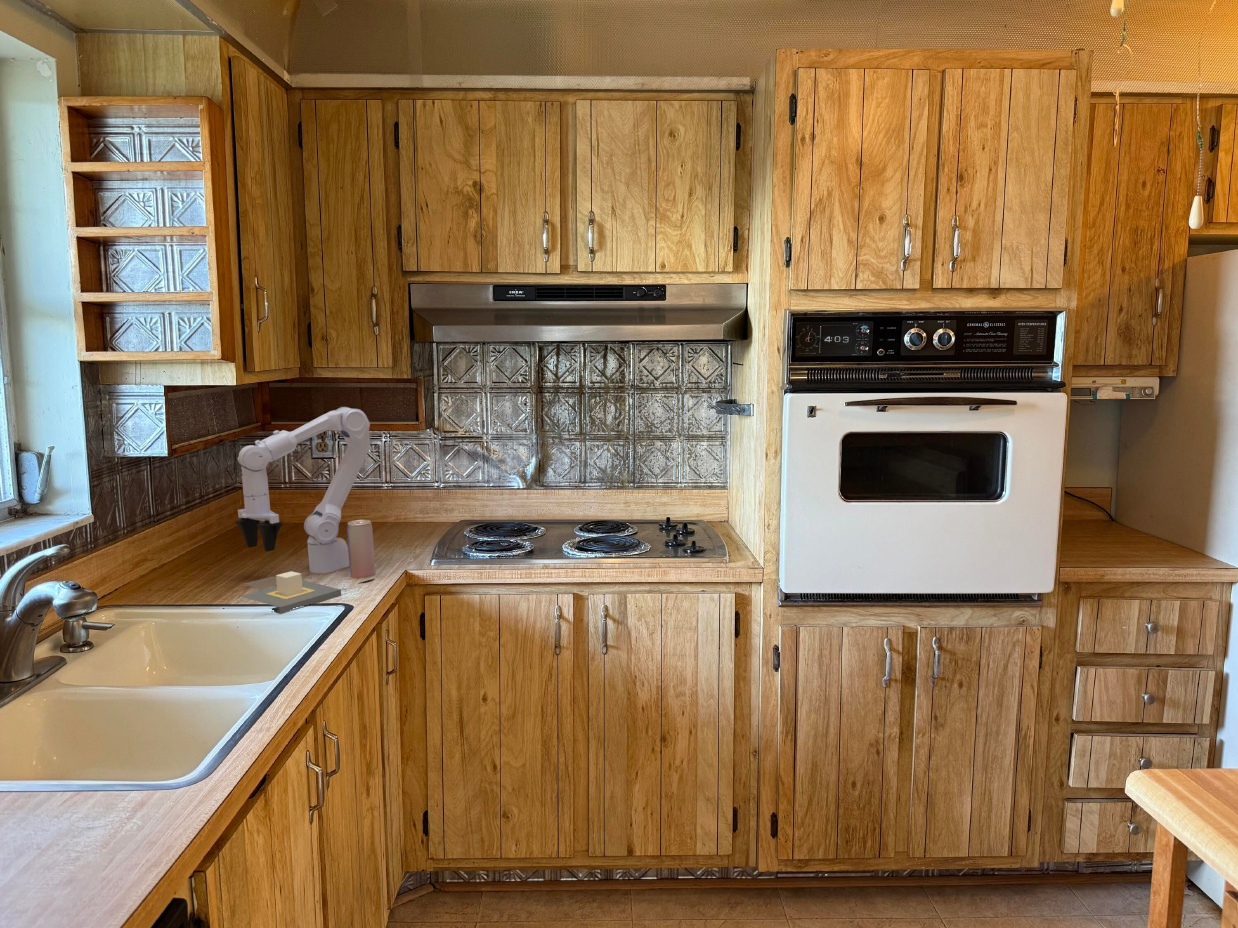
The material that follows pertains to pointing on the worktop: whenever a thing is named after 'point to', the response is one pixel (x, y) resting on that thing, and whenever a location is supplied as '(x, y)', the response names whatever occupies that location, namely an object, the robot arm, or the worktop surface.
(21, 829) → the worktop surface
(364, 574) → the beverage can
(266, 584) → the tab
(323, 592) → the hole board
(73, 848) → the worktop surface
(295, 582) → the peg
